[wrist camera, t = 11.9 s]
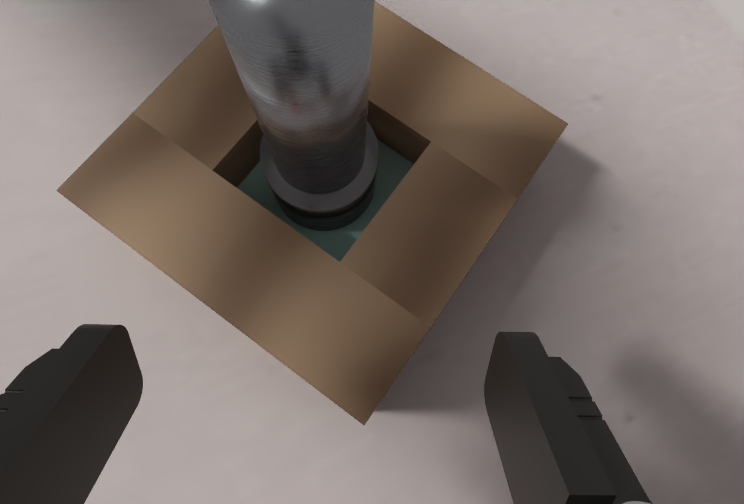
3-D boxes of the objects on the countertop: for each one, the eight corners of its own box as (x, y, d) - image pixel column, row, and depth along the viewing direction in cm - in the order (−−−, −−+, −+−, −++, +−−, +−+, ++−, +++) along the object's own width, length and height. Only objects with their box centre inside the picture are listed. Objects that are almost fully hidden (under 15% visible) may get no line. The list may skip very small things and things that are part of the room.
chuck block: (114, 223, 20) (56, 190, 16) (303, 18, 23) (293, -51, 19) (361, 411, 18) (363, 425, 15) (529, 166, 21) (568, 123, 18)
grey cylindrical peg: (252, 192, 19) (122, -24, 8) (315, 119, 20) (271, -159, 9) (334, 251, 18) (308, 102, 8) (394, 173, 19) (445, -54, 9)
